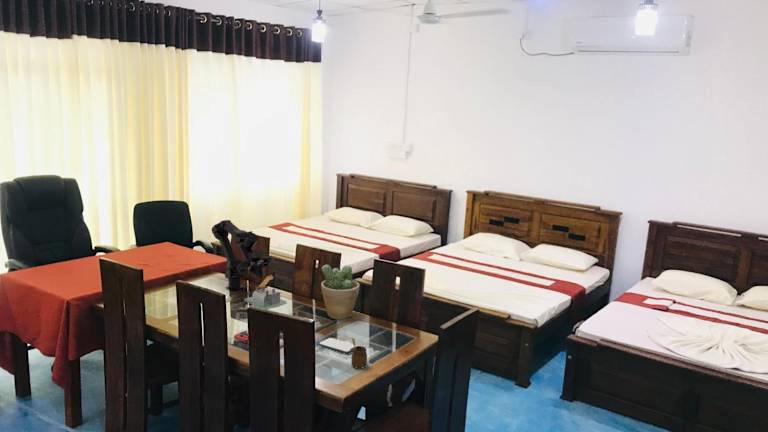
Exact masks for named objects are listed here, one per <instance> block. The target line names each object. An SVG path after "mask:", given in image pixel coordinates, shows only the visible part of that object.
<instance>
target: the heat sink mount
mask: <svg viewBox="0 0 768 432" xmlns="http://www.w3.org/2000/svg"><path fill="white" fill-rule="evenodd" d="M258 287H259V286H256V287H255V290H254V291H253V292H252V296H250V297H246V298H244V299H243V301H244V302H246V303H249V304H250V305H254V306H256V305H257V306H256V307H258V306H260V307H259V308H261V309H263V308H265V309H264V310H269V309H271V308H275V307H280V306H283V305H285V304H287V300H284V299H283V298H282V299H281V292H279V291H277V290H276V288H272V289H270V288H269V287H266V285H265V286H264V287H263V288H262V289H258Z"/></svg>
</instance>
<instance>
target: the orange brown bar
mask: <svg viewBox="0 0 768 432" xmlns="http://www.w3.org/2000/svg"><path fill="white" fill-rule="evenodd" d="M273 279H274V276H273V274H270V275H266V277H265V278H264V279H263V281H262V282H261V283H260V284H259V285H258V286H257V287H258V290H261V289H262V288H263V287H264V286H265V287H266V285H267V284H268V283H269V282H270V280H271V281H272V280H273Z"/></svg>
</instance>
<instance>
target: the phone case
mask: <svg viewBox="0 0 768 432" xmlns="http://www.w3.org/2000/svg"><path fill="white" fill-rule="evenodd" d="M318 345H320V346H322V347H321V348H323V347H325V348H324V349H326V348H328V349H327V350H329V349H331V350H330V351H332V350H334V351H333V352H336V351H337V352H336V353H339V352H341V353H340V354H342V353H345V354H349V353H351V352H353V348H354V345H353V342H348V341H345V340H341V339H337V338H334V337H328V338H325V339H323V340H321V341H320V342H318V344H317V346H318ZM320 346H319V347H320ZM356 346H359V344H358V345H357V344H356V345H355V347H356ZM345 354H344V355H345ZM351 354H352V353H351ZM349 355H350V354H349Z"/></svg>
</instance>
